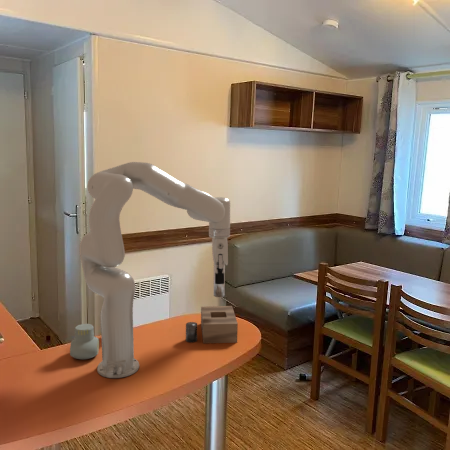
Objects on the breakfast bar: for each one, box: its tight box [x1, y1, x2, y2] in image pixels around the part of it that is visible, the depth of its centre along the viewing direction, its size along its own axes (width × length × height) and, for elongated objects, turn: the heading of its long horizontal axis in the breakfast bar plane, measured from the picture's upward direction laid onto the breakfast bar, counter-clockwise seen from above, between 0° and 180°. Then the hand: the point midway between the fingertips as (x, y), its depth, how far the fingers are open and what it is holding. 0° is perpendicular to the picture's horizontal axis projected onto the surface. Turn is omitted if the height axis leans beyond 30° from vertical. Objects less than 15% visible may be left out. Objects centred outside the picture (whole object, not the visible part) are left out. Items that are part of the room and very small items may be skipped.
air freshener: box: [69, 323, 100, 360], centre depth 153 cm, size 11×8×10 cm
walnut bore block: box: [200, 305, 238, 344], centre depth 173 cm, size 18×12×7 cm, turn 5°
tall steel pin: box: [213, 263, 226, 298], centre depth 171 cm, size 4×4×12 cm
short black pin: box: [185, 321, 198, 344], centre depth 167 cm, size 4×4×6 cm
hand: (219, 281), depth 171 cm, fingers closed on tall steel pin, 4 cm apart
